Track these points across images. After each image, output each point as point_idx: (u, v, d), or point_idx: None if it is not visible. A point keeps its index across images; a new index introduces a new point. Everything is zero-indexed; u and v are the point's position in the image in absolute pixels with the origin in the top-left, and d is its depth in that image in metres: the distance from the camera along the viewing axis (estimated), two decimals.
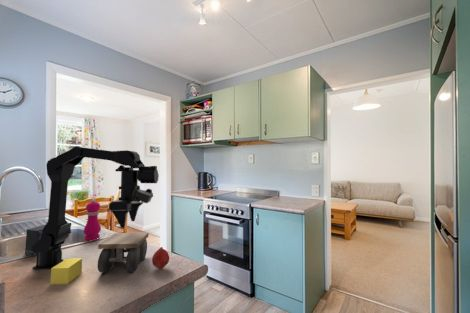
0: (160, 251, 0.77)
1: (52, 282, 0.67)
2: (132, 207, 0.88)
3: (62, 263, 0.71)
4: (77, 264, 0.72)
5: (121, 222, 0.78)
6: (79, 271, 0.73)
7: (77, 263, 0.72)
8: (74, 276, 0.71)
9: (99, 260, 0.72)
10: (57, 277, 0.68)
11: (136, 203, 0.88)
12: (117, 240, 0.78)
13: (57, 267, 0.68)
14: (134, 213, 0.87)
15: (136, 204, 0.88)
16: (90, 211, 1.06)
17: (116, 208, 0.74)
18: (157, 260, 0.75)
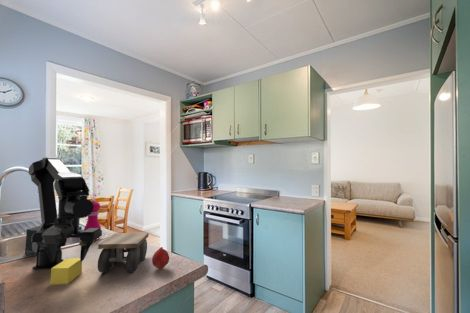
0: (160, 251, 0.77)
1: (52, 282, 0.67)
2: None
3: (62, 263, 0.71)
4: (77, 264, 0.72)
5: None
6: (79, 271, 0.73)
7: (77, 263, 0.72)
8: (74, 276, 0.71)
9: (99, 260, 0.72)
10: (57, 277, 0.68)
11: None
12: (117, 240, 0.78)
13: (57, 267, 0.68)
14: None
15: None
16: None
17: None
18: (157, 260, 0.75)
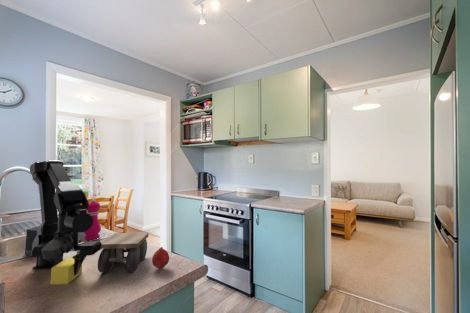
0: (160, 251, 0.77)
1: (52, 282, 0.67)
2: None
3: (62, 263, 0.71)
4: None
5: None
6: (79, 271, 0.73)
7: None
8: (74, 276, 0.71)
9: (99, 260, 0.72)
10: (57, 276, 0.68)
11: None
12: (117, 240, 0.78)
13: (57, 267, 0.68)
14: None
15: None
16: (90, 211, 1.06)
17: None
18: (157, 260, 0.75)
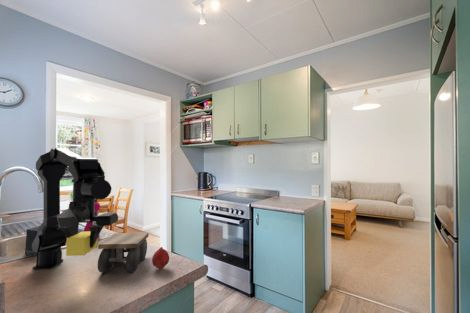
0: (160, 251, 0.77)
1: (68, 253, 0.64)
2: None
3: (77, 235, 0.67)
4: None
5: None
6: (95, 244, 0.70)
7: None
8: (90, 248, 0.67)
9: (99, 260, 0.72)
10: (73, 247, 0.64)
11: None
12: (117, 240, 0.78)
13: (72, 237, 0.65)
14: None
15: None
16: None
17: None
18: (157, 260, 0.75)
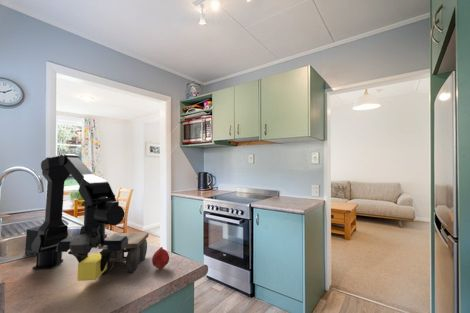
0: (160, 251, 0.77)
1: (79, 278, 0.64)
2: None
3: (88, 258, 0.68)
4: None
5: None
6: (105, 267, 0.70)
7: None
8: (100, 272, 0.68)
9: None
10: (84, 272, 0.64)
11: None
12: None
13: (84, 262, 0.65)
14: None
15: None
16: None
17: None
18: (157, 260, 0.75)
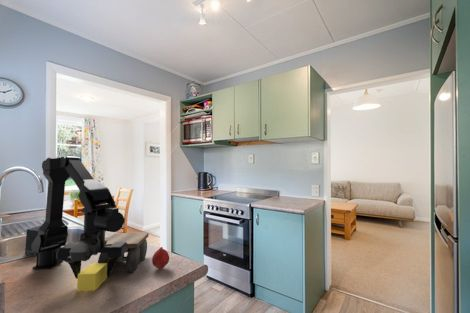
0: (160, 251, 0.77)
1: (79, 289, 0.64)
2: None
3: (88, 268, 0.67)
4: (103, 269, 0.69)
5: None
6: (104, 277, 0.70)
7: (103, 268, 0.69)
8: (100, 282, 0.68)
9: (99, 260, 0.72)
10: (84, 283, 0.64)
11: None
12: (117, 240, 0.78)
13: (83, 273, 0.65)
14: None
15: None
16: None
17: None
18: (157, 260, 0.75)
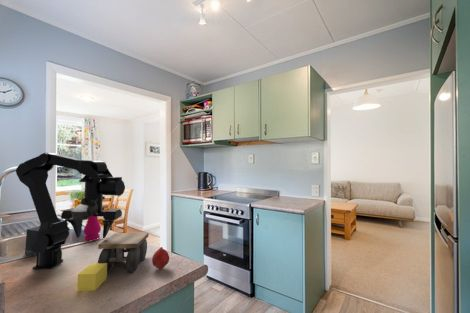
0: (160, 251, 0.77)
1: (79, 289, 0.64)
2: None
3: (88, 268, 0.67)
4: (103, 269, 0.69)
5: None
6: (104, 277, 0.70)
7: (103, 268, 0.69)
8: (100, 282, 0.68)
9: (99, 260, 0.72)
10: (84, 283, 0.64)
11: None
12: (117, 240, 0.78)
13: (84, 273, 0.65)
14: None
15: None
16: None
17: None
18: (157, 260, 0.75)
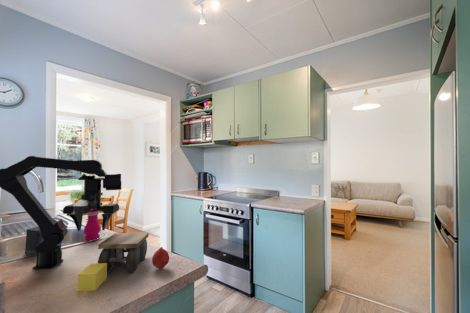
0: (160, 251, 0.77)
1: (79, 289, 0.64)
2: None
3: (88, 268, 0.67)
4: (103, 269, 0.69)
5: None
6: (104, 277, 0.70)
7: (103, 268, 0.69)
8: (100, 282, 0.68)
9: (99, 260, 0.72)
10: (84, 283, 0.64)
11: None
12: (117, 240, 0.78)
13: (84, 273, 0.65)
14: None
15: None
16: (90, 211, 1.06)
17: None
18: (157, 260, 0.75)
